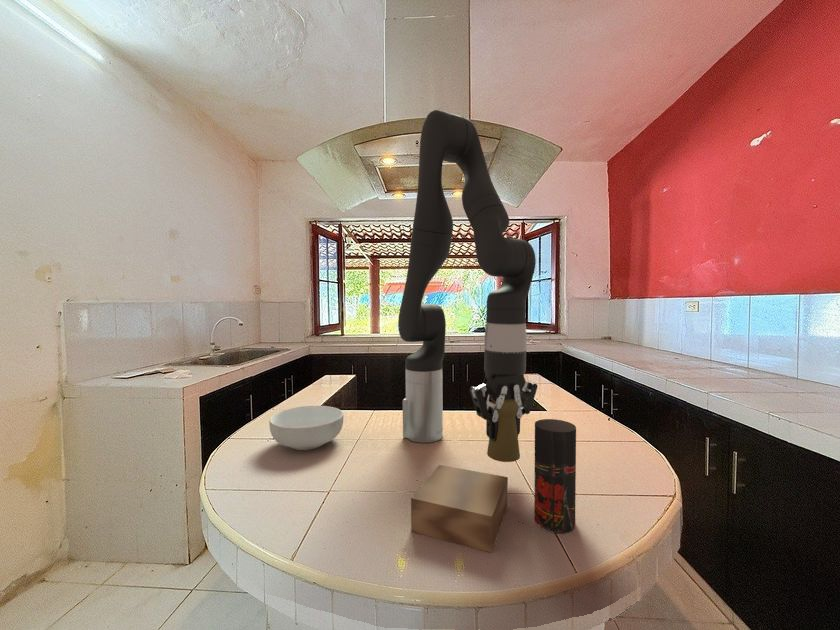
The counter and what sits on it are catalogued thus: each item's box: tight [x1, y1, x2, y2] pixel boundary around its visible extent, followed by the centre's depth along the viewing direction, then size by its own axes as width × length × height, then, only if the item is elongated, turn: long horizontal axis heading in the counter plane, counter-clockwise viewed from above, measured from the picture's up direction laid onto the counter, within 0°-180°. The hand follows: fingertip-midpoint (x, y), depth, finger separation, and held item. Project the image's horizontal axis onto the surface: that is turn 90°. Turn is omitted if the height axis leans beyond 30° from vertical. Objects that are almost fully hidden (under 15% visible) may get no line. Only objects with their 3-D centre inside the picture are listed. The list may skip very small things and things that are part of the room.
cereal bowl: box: [268, 405, 345, 451], centre depth 89 cm, size 17×17×7 cm
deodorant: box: [533, 418, 577, 534], centre depth 57 cm, size 6×6×15 cm
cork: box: [486, 399, 521, 463], centre depth 69 cm, size 6×6×11 cm
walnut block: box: [410, 464, 509, 553], centre depth 58 cm, size 12×12×5 cm
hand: (503, 437), depth 69 cm, fingers closed on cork, 4 cm apart
